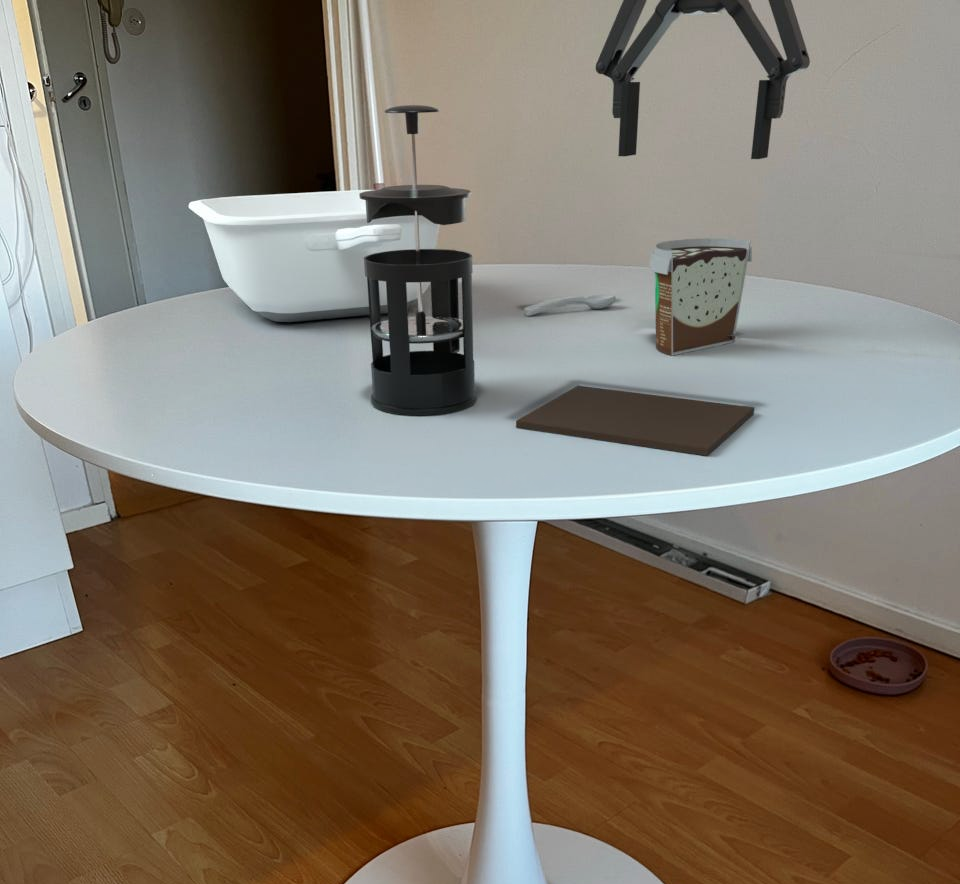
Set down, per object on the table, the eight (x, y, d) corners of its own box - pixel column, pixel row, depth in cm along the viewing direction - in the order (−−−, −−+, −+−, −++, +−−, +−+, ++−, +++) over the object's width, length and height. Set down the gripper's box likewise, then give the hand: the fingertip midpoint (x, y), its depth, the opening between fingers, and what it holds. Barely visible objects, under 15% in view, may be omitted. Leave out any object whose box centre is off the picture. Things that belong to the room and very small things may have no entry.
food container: (700, 330, 111) (708, 234, 107) (743, 340, 107) (754, 239, 102) (618, 347, 105) (623, 245, 100) (661, 358, 101) (668, 252, 96)
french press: (449, 422, 83) (439, 106, 72) (348, 412, 86) (323, 107, 75) (499, 386, 92) (497, 102, 81) (406, 378, 95) (392, 104, 84)
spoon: (620, 307, 123) (620, 290, 122) (531, 323, 120) (530, 306, 119) (609, 303, 125) (608, 286, 124) (521, 319, 122) (520, 302, 121)
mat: (753, 414, 83) (754, 407, 83) (707, 456, 74) (708, 448, 74) (577, 391, 90) (577, 385, 90) (515, 427, 81) (515, 420, 81)
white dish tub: (400, 282, 143) (395, 184, 136) (525, 345, 106) (525, 216, 100) (196, 298, 134) (181, 195, 128) (256, 374, 97) (239, 234, 91)
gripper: (566, -103, 91) (560, 156, 101) (846, -133, 80) (808, 162, 90) (601, -93, 97) (592, 152, 107) (868, -120, 85) (830, 156, 96)
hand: (691, 157), depth 99 cm, fingers open, 13 cm apart
